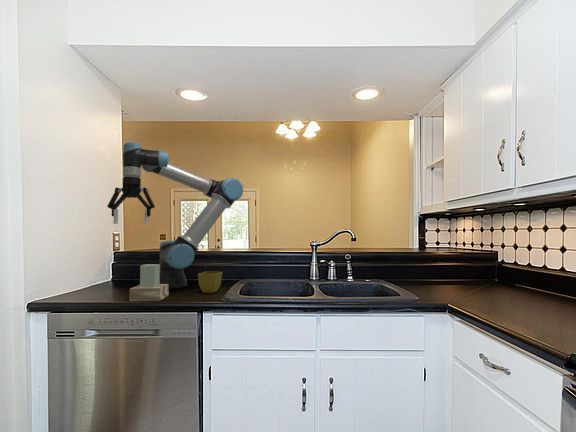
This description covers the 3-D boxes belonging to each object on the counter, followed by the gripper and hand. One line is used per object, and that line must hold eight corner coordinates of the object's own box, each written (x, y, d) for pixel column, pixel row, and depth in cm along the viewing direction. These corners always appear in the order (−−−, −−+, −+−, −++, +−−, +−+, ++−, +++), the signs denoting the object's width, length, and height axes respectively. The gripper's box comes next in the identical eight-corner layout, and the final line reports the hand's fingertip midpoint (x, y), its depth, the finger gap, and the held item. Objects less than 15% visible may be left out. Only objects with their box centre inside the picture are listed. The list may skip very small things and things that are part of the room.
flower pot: (215, 294, 153) (215, 274, 153) (197, 293, 154) (197, 273, 155) (222, 290, 161) (222, 271, 162) (205, 290, 163) (205, 271, 163)
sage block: (145, 285, 147) (145, 264, 147) (159, 285, 147) (159, 264, 148) (140, 287, 141) (140, 265, 141) (154, 287, 141) (155, 265, 142)
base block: (140, 295, 150) (141, 284, 150) (168, 295, 150) (168, 283, 150) (129, 301, 138) (129, 288, 138) (159, 300, 138) (159, 288, 138)
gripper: (99, 175, 150) (98, 223, 149) (156, 176, 152) (156, 223, 151) (107, 178, 158) (106, 224, 157) (162, 178, 159) (161, 223, 158)
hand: (131, 223), depth 154 cm, fingers open, 13 cm apart
